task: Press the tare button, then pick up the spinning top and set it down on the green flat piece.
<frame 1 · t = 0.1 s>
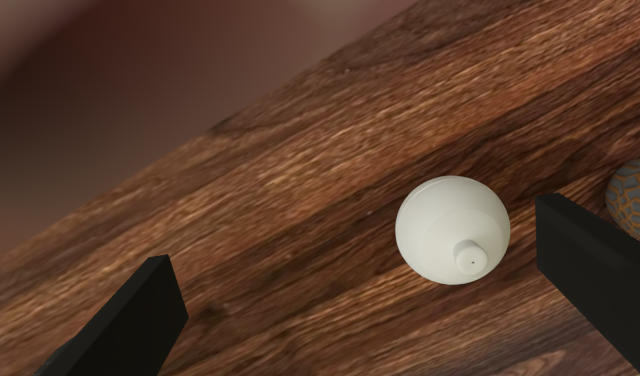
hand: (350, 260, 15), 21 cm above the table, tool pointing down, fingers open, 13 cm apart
vase: (631, 185, 35), on the table
spinning top: (427, 196, 36), on the table
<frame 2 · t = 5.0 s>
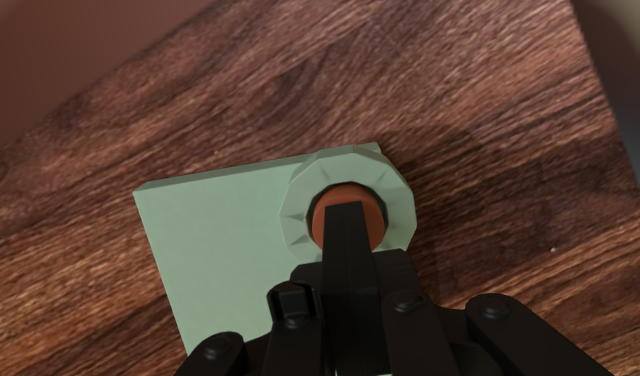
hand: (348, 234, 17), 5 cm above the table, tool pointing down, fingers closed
green flat piece: (287, 282, 23), on the table
tare button: (347, 221, 18), point 4 cm above the table, slide at -0.2 cm, touching gripper
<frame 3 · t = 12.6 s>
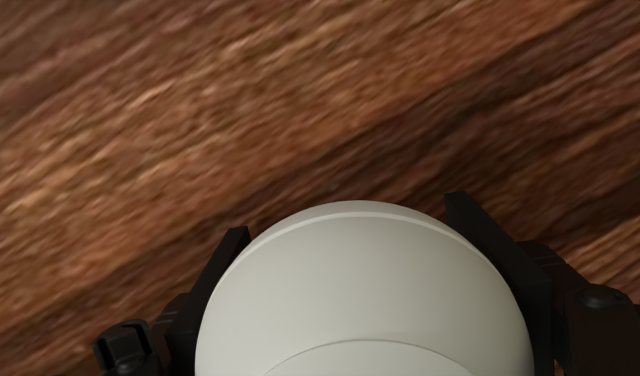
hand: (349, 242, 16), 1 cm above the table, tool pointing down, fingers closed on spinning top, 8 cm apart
spinning top: (348, 233, 17), on the table, touching gripper
when the fingers open (2 cm above the table, at t = 22.1 s): spinning top stays where it is, resting on green flat piece.
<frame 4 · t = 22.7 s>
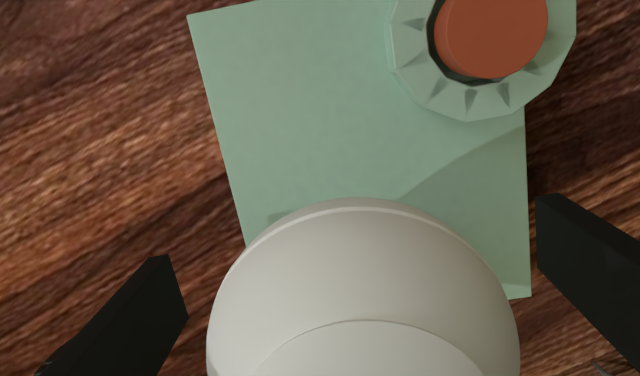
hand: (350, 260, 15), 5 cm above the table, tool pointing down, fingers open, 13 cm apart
green flat piece: (370, 159, 18), on the table
spinning top: (348, 230, 18), point 2 cm above the table, touching green flat piece
elephant figurine: (618, 363, 21), on the table
tare button: (487, 28, 13), point 4 cm above the table, slide at 0.1 cm
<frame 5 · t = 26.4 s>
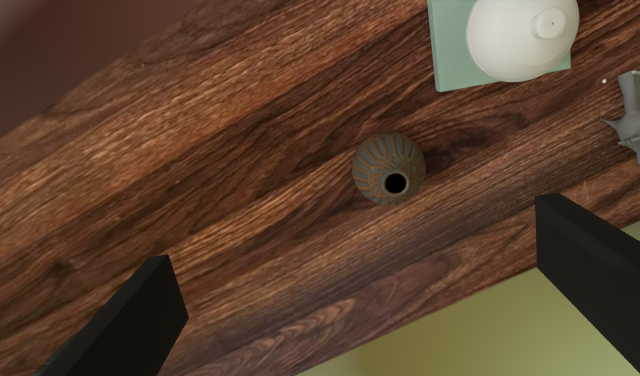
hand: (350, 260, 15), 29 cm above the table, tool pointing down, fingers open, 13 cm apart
green flat piece: (493, 3, 38), on the table
vase: (383, 159, 43), on the table
spinning top: (484, 34, 37), point 2 cm above the table, touching green flat piece
elephant figurine: (612, 120, 41), on the table
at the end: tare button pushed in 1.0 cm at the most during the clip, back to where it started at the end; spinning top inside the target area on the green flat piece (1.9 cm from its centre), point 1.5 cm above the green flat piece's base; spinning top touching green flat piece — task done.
